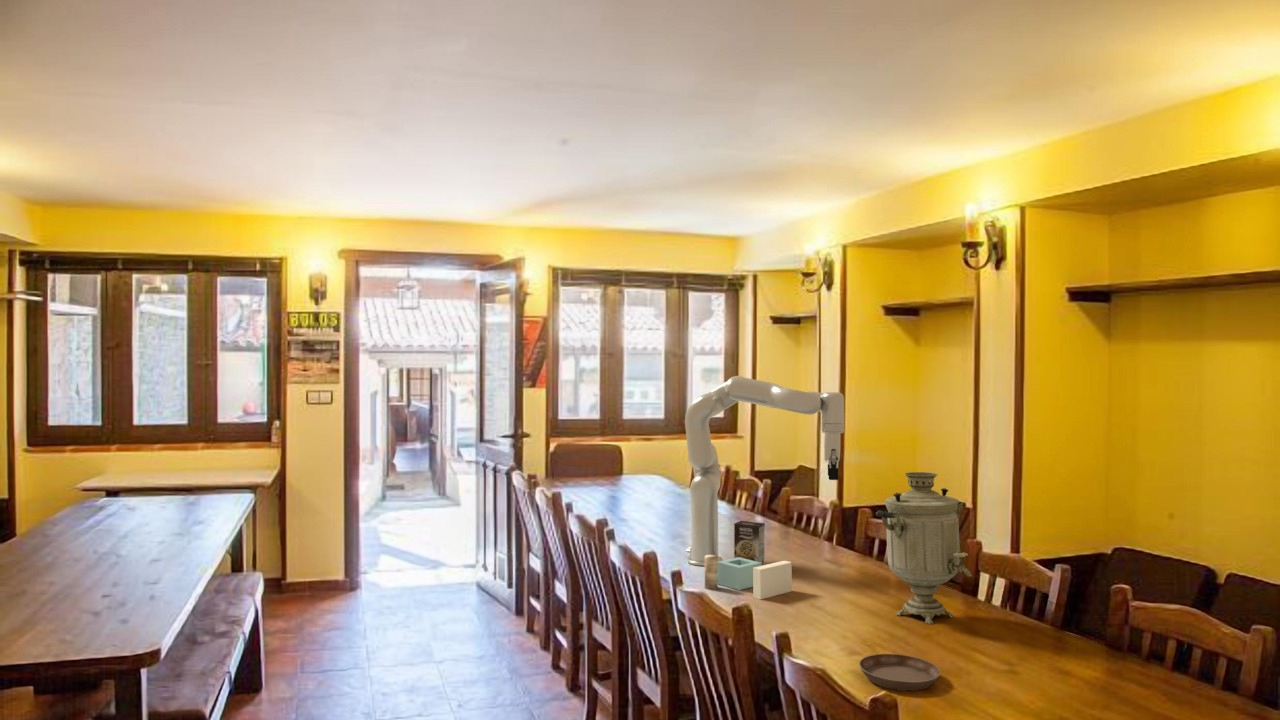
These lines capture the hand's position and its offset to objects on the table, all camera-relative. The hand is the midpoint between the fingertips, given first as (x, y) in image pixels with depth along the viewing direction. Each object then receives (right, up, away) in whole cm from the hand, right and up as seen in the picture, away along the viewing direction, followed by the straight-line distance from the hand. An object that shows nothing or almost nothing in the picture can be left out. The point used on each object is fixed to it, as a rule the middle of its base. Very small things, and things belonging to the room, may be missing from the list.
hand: (833, 477), depth 299 cm
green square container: (-35, -31, -21) cm, 51 cm away
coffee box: (-29, -32, -2) cm, 43 cm away
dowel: (-44, -32, -25) cm, 59 cm away
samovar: (+14, -32, -58) cm, 67 cm away
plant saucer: (-8, -32, -102) cm, 107 cm away
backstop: (-26, -32, -32) cm, 52 cm away
